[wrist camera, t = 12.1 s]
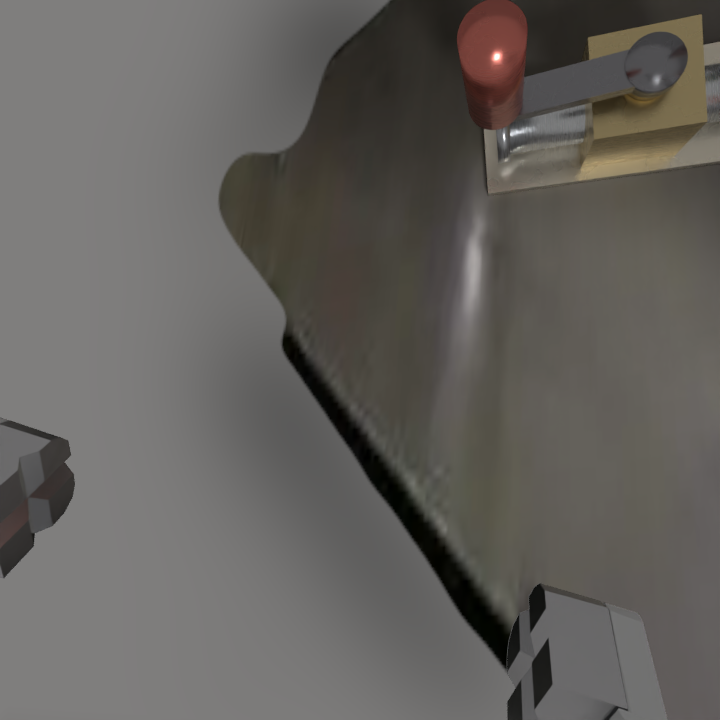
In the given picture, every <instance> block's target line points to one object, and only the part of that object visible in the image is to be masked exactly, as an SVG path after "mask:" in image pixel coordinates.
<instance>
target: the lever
mask: <svg viewBox="0 0 720 720" xmlns="http://www.w3.org/2000/svg"><path fill="white" fill-rule="evenodd" d="M527 30H528V28H527V21H526V18H525V15H524V13H523V12H522V10H521V9H520V8H519V7H518V6H517V5H516V4H514V3H513V2H511V1H508V0H486V1H483V2H481V3H479V4H477V5H476V6H474V7H473V8H472V9H471V10H470V11H469V12H468V13H467V14H466V15H465V17H464V18H463V20H462V22H461V24H460V26H459V30H458V34H457V45H458V51H459V56H460V62H461V68H462V74H463V79H464V85H465V91H466V97H467V103H468V108H469V113H470V116H471V118H472V120H473V121H474V122H475V123H476V124H477V125H478V126H479V127H481V128H483V129H487V130H498V129H502V128H504V127H506V126H508V125H509V124H511V123H512V122H516V121H520V120H524V119H528V118H532V117H536V116H540V115H544V114H548V113H552V112H556V111H560V110H564V109H568V108H573V107H577V106H581V105H585V104H589V103H593V102H597V101H601V100H605V99H609V98H613V97H617V96H621V95H625V94H629V93H632V94H633V95H635V96H638V97H642V98H653V97H657V96H660V95H662V94H664V93H666V92H667V91H669V90H670V89H671V88H672V87H673V86H674V85H675V84H676V82H677V81H678V79H679V78H680V76H681V75H682V74H683V72H684V70H685V68H686V65H687V61H688V52H687V48H686V46H685V44H684V42H683V41H682V40H681V39H680V38H679V37H678V36H676V35H674V34H672V33H669V32H653V33H650V34H647V35H645V36H643V37H642V38H640V39H639V40H637V41H636V42H635V43H634V44H633V46H632V47H631V48H630V49H629V50H625V51H621V52H617V53H614V54H610V55H606V56H602V57H599V58H595V59H591V60H587V61H584V62H580V63H576V64H572V65H568V66H565V67H561V68H557V69H553V70H550V71H546V72H542V73H538V74H535V75H531V76H527V77H524V74H525V59H526V45H527Z"/></svg>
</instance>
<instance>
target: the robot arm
mask: <svg viewBox="0 0 720 720" xmlns="http://www.w3.org/2000/svg"><path fill="white" fill-rule="evenodd" d="M70 455H71V452H70V447H69V442H68V440H65V439H63V438H61V437H58V436H54V435H52V434H49V433H46V432H43V431H40V430H37V429H34V428H31V427H28V426H25V425H22V424H19V423H16V422H13V421H10V420H7V419H3V418H0V577H1V578H5V577H6V575H7V574H8V573H9V572H10V571H11V570H12V569H13V568H14V567H15V566H16V565H17V564H18V563H19V561H21V559H22V558H23V557H24V556H25V555H26V554H27V553H28V552H29V551H30V550H31V549H32V548H33V546H34V538H35V533H37V532H39V531H42V530H44V529H46V528H49V527H51V526H53V525H54V524H55V523H56V522H57V520H58V519H59V518H60V517H61V516H62V515H63V514H64V512H65V510H66V509H67V507H68V505H69V503H70V501H71V499H72V497H73V491H74V486H75V482H74V474H73V473H72V471H71V470H70V469H69V468H68V466H67V465H66V464H65V463H64V462H65V461H66V460H67V459H68V458H69V457H70ZM507 674H508V676H509V677H510V679H511V681H512V683H513V684H514V686H515V690H514V692H513V693H512V695H511V696H510V698H509V700H508V701H507V718H508V720H668V718H667V715H666V711H665V707H664V703H663V699H662V695H661V691H660V687H659V683H658V679H657V675H656V671H655V667H654V663H653V660H652V656H651V652H650V648H649V644H648V640H647V636H646V632H645V628H644V624H643V620H642V619H641V617H640V616H639V614H638V613H637V612H634V611H630V610H627V609H624V608H620V607H617V606H614V605H611V604H607V603H602V602H601V601H599V600H596V599H592V598H589V597H585V596H582V595H578V594H575V593H572V592H568V591H565V590H561V589H558V588H555V587H551V586H548V585H544V584H541V583H539V584H538V585H536V586H535V587H534V588H533V590H532V592H531V594H530V595H529V610H526V611H524V612H521V613H519V615H518V617H517V619H516V621H515V623H514V625H513V627H512V631H511V634H510V638H509V642H508V651H507Z"/></svg>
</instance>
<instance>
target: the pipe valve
mask: <svg viewBox="0 0 720 720" xmlns="http://www.w3.org/2000/svg"><path fill="white" fill-rule="evenodd" d="M653 32H669V33H672V34H674V35H676V36H678V37H679V38H680V39H681V40H682V41H683V42H684V44H685V46H686V48H687V52H688V61H687V65H686V68H685V70H684V72H683V74H682V75H681V76H680V78H679V79H678V81H677V82H676V84H675V85H674V86H673V87H672V88H671V89H670V90H669V91H667V92H666V93H664V94H662V95H660V96H657V97H653V98H642V97H638V96H635V95H633V94H632V93H629V94H625V95H621V96H617V97H613V98H609V99H605V100H601V101H597V102H593V103H589V104H585V105H581V106H577V107H573V108H568V109H564V110H560V111H556V112H552V113H548V114H544V115H540V116H536V117H532V118H528V119H524V120H520V121H516V122H512V123H511V124H509V125H508V126H506V127H504V128H502V129H498V130H487V129H484V139H485V154H486V169H487V184H488V196H491V195H498V194H505V193H513V192H520V191H527V190H534V189H541V188H548V187H556V186H563V185H570V184H577V183H584V182H592V181H599V180H606V179H613V178H620V177H627V176H635V175H642V174H649V173H656V172H663V171H670V170H678V169H685V168H692V167H699V166H706V165H714V164H720V42H715V43H710V44H705V45H703V28H702V14H700V15H695V16H690V17H685V18H681V19H676V20H671V21H666V22H661V23H656V24H651V25H646V26H641V27H636V28H632V29H627V30H622V31H617V32H612V33H607V34H602V35H597V36H592V37H588V39H587V42H586V46H585V50H584V53H583V57H582V61H581V62H584V61H587V60H591V59H595V58H599V57H602V56H606V55H610V54H614V53H617V52H621V51H625V50H629V49H630V48H631V47H632V46H633V44H634V43H635V42H636V41H637V40H639V39H640V38H642V37H643V36H645V35H647V34H650V33H653Z"/></svg>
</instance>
